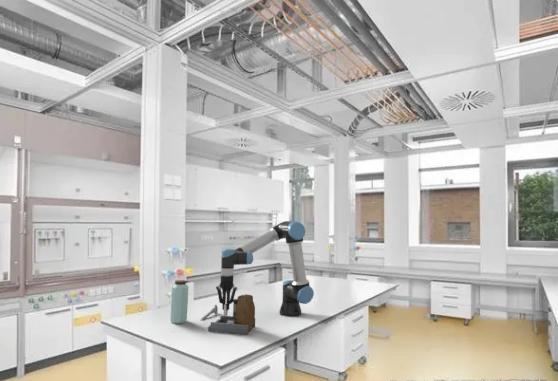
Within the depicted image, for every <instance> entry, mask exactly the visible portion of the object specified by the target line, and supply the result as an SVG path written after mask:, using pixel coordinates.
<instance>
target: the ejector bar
mask: <svg viewBox="0 0 558 381" xmlns="http://www.w3.org/2000/svg"><path fill="white" fill-rule="evenodd" d="M237 302H238V298H234V299H233V308H232V309H233V310H232V316H233V320H232V321H227V324H235V319H236V307H237Z"/></svg>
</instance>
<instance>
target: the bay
mask: <svg viewBox="0 0 558 381" xmlns="http://www.w3.org/2000/svg"><path fill="white" fill-rule="evenodd" d="M219 316H220V318H219V319H216V320H215V321H211V322H210V325H208V327H207V332H211V333H212V332H214V333H223V334H232V335H241V336H242V335H245V336H248V334H249V331H248V325H243V324H227V321H232V320H233V315H232V316H231V315H227V316H224V314H222V315H219ZM253 328H256V320H255V321H254V325H253Z"/></svg>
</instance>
